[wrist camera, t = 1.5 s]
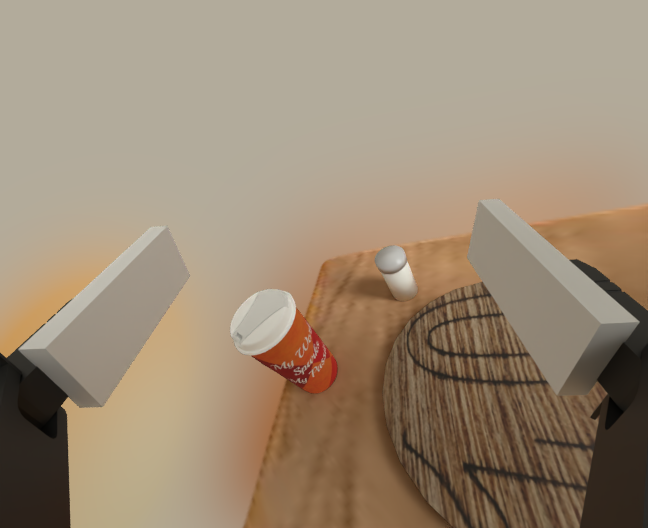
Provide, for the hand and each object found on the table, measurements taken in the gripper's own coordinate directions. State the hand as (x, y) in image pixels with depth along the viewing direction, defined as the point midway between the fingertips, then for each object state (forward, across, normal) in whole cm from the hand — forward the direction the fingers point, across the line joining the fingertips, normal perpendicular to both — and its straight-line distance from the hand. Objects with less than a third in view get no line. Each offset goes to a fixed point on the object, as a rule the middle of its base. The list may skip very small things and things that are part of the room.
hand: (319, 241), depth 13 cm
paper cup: (+12, -4, -27) cm, 30 cm away
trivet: (+5, +16, -22) cm, 27 cm away
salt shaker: (+21, +9, -21) cm, 31 cm away
